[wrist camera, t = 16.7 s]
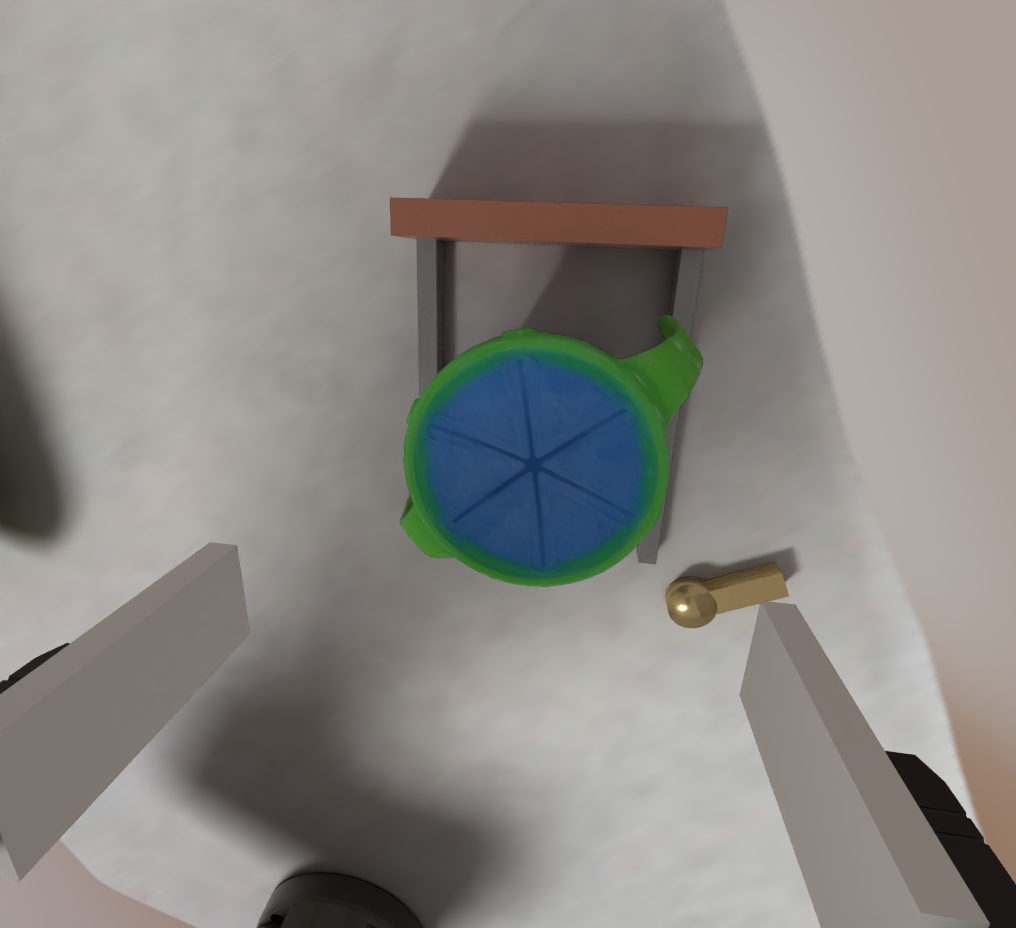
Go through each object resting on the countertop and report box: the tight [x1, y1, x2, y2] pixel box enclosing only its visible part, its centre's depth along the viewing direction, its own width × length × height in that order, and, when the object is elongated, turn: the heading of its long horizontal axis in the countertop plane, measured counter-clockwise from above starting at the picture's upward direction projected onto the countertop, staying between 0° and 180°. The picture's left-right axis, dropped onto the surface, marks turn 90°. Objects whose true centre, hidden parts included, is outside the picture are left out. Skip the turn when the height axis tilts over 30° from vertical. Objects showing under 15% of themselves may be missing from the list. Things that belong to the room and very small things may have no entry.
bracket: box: [390, 198, 728, 564], centre depth 28 cm, size 14×18×5 cm
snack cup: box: [400, 314, 703, 587], centre depth 26 cm, size 16×10×10 cm
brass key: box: [665, 562, 789, 628], centre depth 33 cm, size 7×3×1 cm, turn 113°
